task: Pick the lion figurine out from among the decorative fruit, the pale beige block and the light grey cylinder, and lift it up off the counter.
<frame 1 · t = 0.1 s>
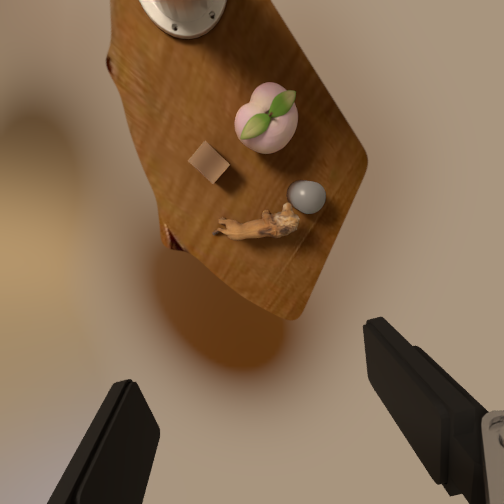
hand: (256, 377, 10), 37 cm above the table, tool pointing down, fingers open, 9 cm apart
decorative fruit: (263, 127, 41), on the table
pale beige block: (211, 163, 42), on the table
lion figurine: (253, 219, 46), on the table
light grey cylinder: (300, 194, 45), on the table
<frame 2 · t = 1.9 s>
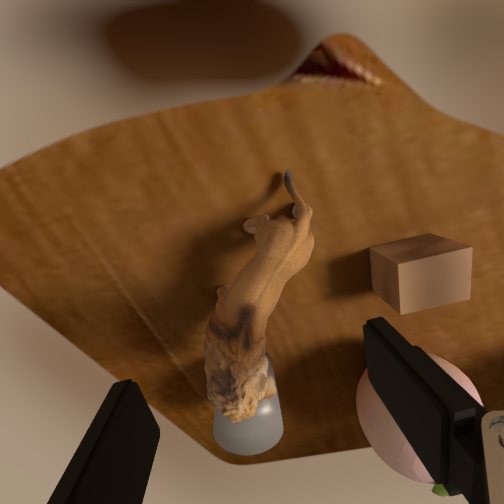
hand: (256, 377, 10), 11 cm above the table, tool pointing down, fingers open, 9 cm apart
decorative fruit: (377, 363, 24), on the table
pale beige block: (399, 262, 21), on the table
lion figurine: (258, 266, 21), on the table
light grey cylinder: (246, 367, 23), on the table
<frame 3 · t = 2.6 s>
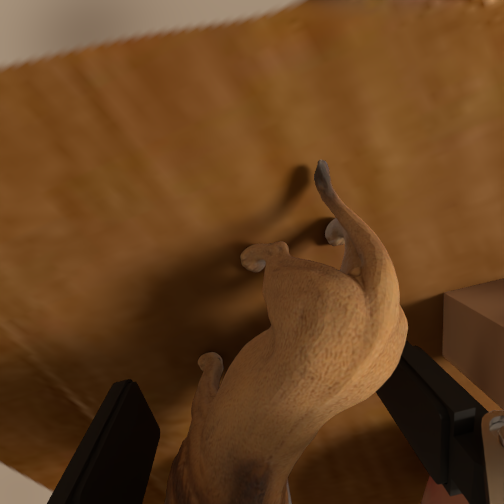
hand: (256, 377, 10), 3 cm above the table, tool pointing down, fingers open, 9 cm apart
decorative fruit: (437, 451, 16), on the table
pale beige block: (487, 313, 13), on the table
lion figurine: (265, 320, 13), on the table
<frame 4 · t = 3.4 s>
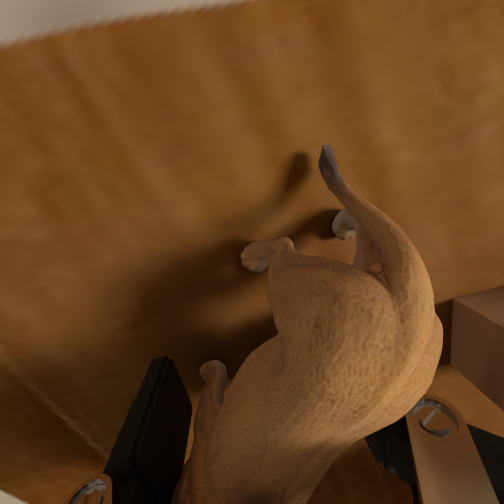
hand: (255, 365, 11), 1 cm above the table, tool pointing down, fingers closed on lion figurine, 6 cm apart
pale beige block: (498, 319, 13), on the table
lion figurine: (271, 323, 12), on the table, touching gripper
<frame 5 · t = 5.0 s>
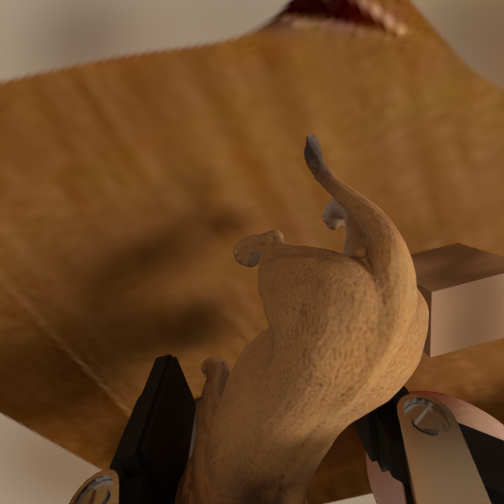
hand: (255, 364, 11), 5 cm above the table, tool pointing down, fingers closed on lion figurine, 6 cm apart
decorative fruit: (387, 400, 20), on the table
pale beige block: (419, 280, 16), on the table
lion figurine: (268, 317, 12), point 3 cm above the table, touching gripper
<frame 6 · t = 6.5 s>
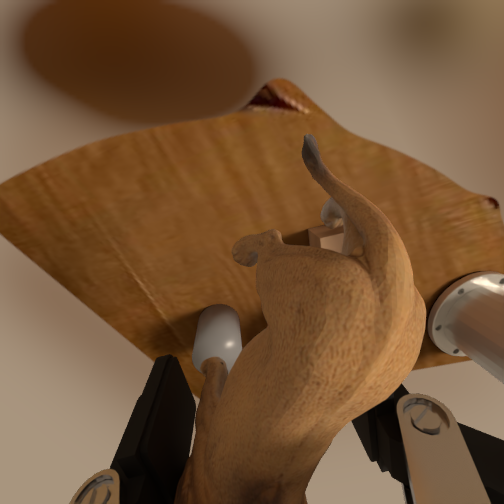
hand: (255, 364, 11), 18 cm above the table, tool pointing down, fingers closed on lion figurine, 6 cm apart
pale beige block: (330, 240, 29), on the table
lion figurine: (267, 317, 12), point 16 cm above the table, touching gripper
light grey cylinder: (219, 322, 31), on the table
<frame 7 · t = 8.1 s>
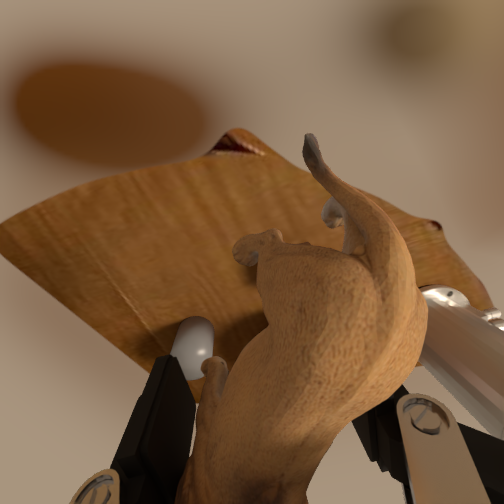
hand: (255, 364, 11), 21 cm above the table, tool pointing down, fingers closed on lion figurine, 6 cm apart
lion figurine: (268, 316, 12), point 20 cm above the table, touching gripper
light grey cylinder: (196, 331, 35), on the table
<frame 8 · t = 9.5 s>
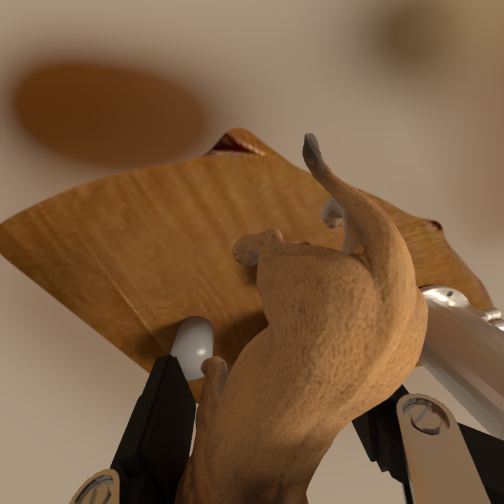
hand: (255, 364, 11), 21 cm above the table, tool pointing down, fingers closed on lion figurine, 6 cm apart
lion figurine: (268, 316, 12), point 20 cm above the table, touching gripper
light grey cylinder: (196, 331, 35), on the table
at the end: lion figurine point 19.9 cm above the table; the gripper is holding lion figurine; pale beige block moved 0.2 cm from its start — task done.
